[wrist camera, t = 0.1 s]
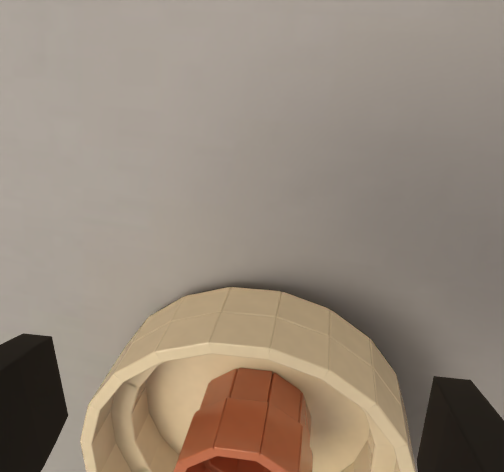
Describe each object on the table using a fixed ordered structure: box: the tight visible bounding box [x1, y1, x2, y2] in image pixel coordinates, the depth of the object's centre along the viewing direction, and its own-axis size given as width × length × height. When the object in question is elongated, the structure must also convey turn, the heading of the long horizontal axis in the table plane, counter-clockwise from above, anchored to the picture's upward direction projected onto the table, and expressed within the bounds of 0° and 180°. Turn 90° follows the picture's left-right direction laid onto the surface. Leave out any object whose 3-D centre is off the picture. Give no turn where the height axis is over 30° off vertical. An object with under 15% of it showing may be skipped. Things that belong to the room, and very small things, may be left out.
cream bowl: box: [80, 287, 416, 472], centre depth 21 cm, size 13×13×4 cm
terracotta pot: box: [173, 368, 313, 472], centre depth 20 cm, size 5×5×4 cm
